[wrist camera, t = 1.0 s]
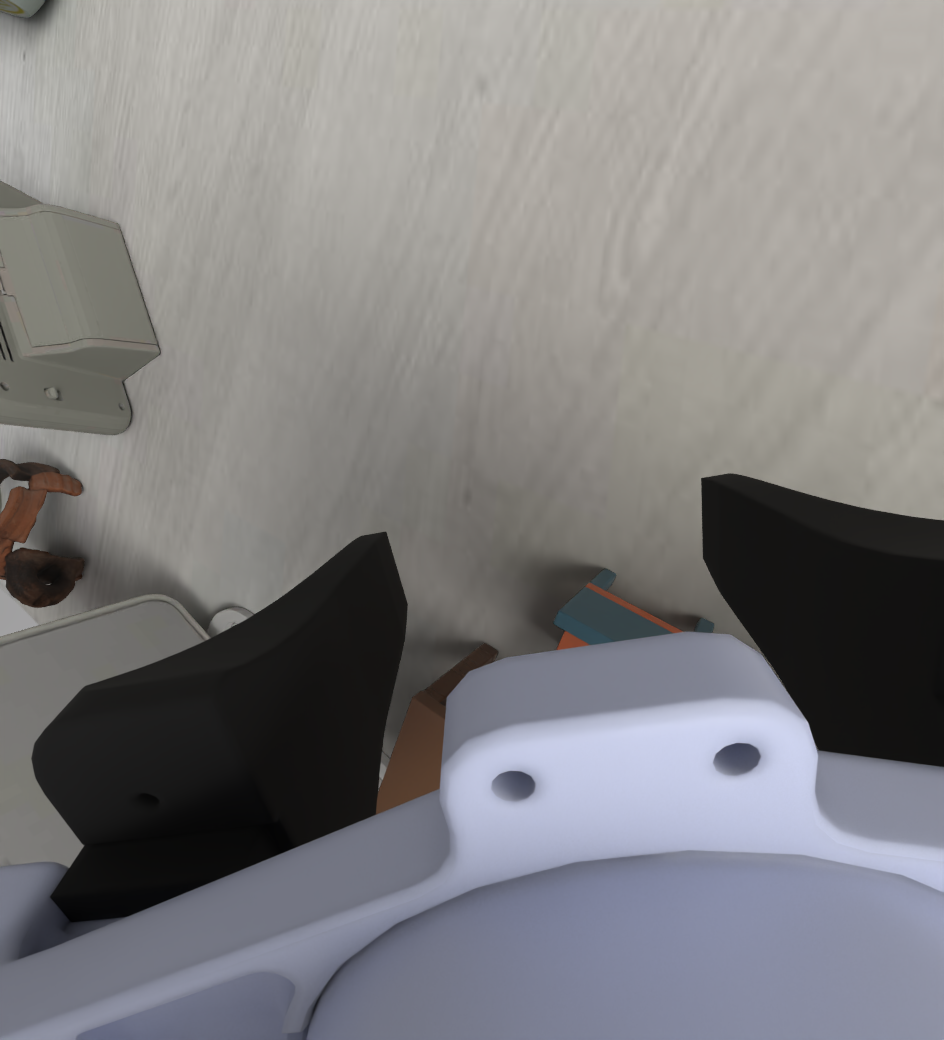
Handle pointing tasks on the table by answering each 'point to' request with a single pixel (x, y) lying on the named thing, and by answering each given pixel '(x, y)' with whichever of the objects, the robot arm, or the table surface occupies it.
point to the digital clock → (67, 319)
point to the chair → (609, 617)
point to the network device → (55, 682)
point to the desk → (424, 737)
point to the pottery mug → (14, 524)
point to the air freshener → (21, 7)
